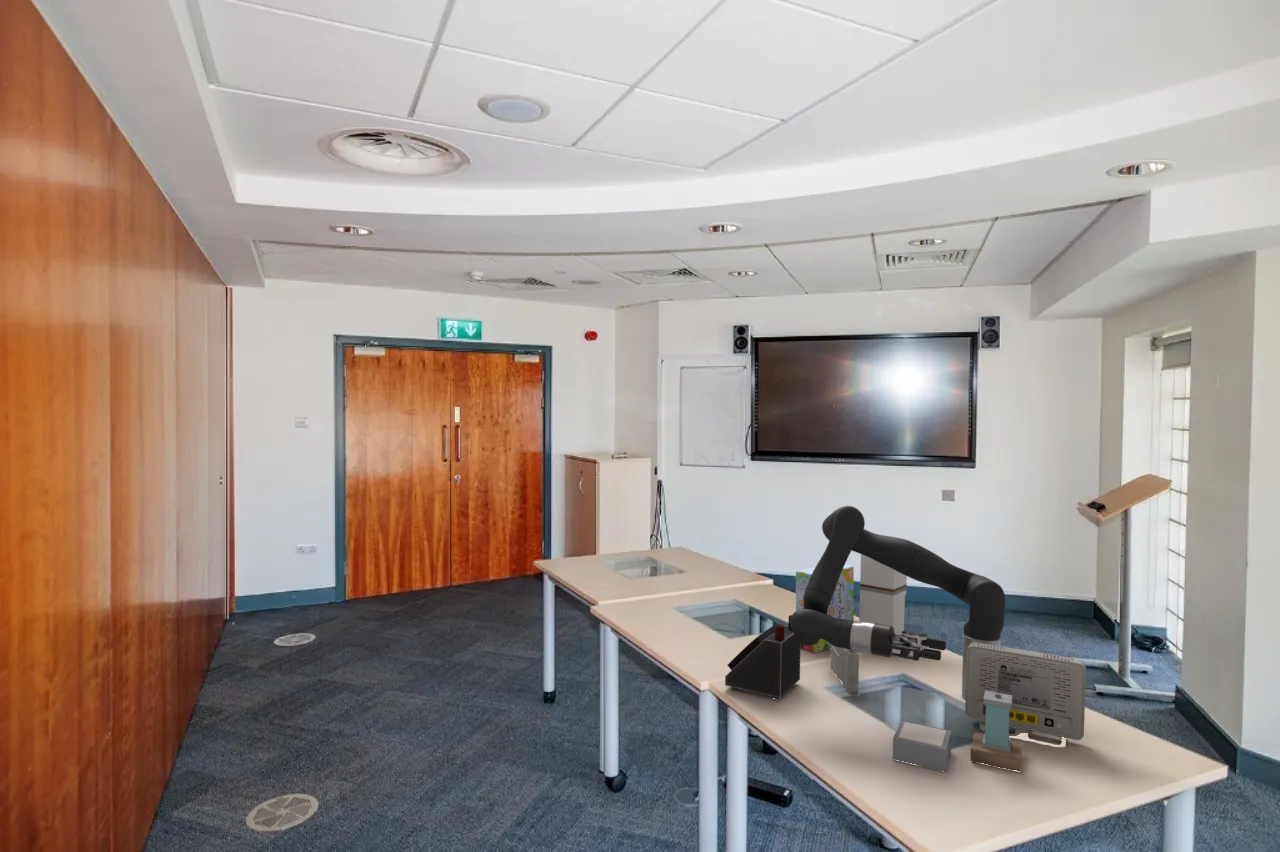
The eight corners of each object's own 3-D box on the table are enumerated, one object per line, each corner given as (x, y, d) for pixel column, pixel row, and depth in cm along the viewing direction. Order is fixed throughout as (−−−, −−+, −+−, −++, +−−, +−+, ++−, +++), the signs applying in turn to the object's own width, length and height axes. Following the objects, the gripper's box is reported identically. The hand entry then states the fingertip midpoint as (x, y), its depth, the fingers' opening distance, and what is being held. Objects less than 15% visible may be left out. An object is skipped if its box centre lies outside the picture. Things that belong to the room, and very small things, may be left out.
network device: (1083, 739, 176) (1085, 657, 175) (1083, 754, 168) (1086, 668, 168) (967, 715, 189) (969, 638, 188) (963, 727, 181) (965, 648, 181)
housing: (983, 737, 169) (985, 687, 169) (1010, 743, 166) (1012, 692, 166) (982, 747, 164) (983, 695, 164) (1010, 753, 161) (1011, 701, 161)
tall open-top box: (904, 647, 243) (907, 542, 243) (891, 654, 236) (894, 546, 235) (872, 639, 251) (874, 538, 250) (858, 646, 243) (861, 542, 242)
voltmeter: (746, 672, 217) (747, 606, 216) (799, 684, 208) (801, 614, 208) (724, 690, 203) (725, 618, 203) (780, 703, 195) (781, 628, 194)
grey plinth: (900, 741, 173) (901, 719, 173) (950, 752, 168) (951, 729, 167) (892, 760, 163) (893, 737, 163) (945, 772, 158) (946, 749, 158)
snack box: (833, 635, 255) (835, 562, 255) (854, 641, 248) (856, 566, 248) (793, 646, 242) (794, 569, 241) (814, 653, 235) (816, 574, 234)
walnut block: (973, 744, 172) (974, 731, 172) (1021, 754, 167) (1021, 741, 167) (970, 761, 163) (970, 748, 163) (1020, 773, 158) (1021, 759, 158)
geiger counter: (863, 643, 202) (840, 618, 227) (840, 642, 202) (820, 617, 227) (862, 693, 202) (839, 662, 227) (839, 692, 203) (819, 661, 228)
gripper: (866, 630, 172) (940, 642, 164) (878, 616, 184) (947, 627, 177) (865, 662, 172) (938, 675, 164) (877, 645, 185) (946, 658, 177)
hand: (943, 650), depth 170 cm, fingers open, 8 cm apart
